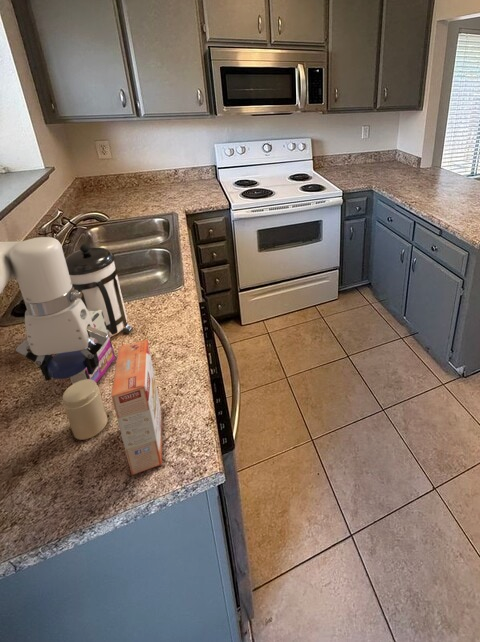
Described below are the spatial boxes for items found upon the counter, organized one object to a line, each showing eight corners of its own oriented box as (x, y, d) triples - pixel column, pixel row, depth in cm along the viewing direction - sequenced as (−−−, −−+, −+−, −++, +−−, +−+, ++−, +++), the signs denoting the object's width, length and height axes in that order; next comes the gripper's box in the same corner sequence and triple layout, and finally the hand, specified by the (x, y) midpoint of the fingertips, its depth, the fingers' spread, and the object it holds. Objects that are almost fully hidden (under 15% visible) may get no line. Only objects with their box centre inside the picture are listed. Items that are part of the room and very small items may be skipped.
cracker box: (164, 464, 72) (146, 385, 65) (130, 477, 70) (108, 396, 62) (163, 409, 84) (148, 337, 77) (135, 418, 82) (116, 345, 75)
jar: (74, 445, 76) (61, 408, 72) (72, 423, 81) (60, 387, 77) (109, 428, 80) (99, 392, 76) (105, 408, 84) (95, 373, 81)
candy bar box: (98, 358, 99) (84, 309, 94) (116, 358, 99) (103, 308, 94) (72, 391, 89) (54, 338, 83) (92, 391, 89) (75, 338, 83)
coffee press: (63, 351, 102) (33, 258, 91) (99, 316, 117) (77, 232, 106) (121, 354, 101) (97, 260, 90) (150, 318, 116) (133, 234, 105)
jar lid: (88, 372, 72) (86, 365, 72) (45, 384, 69) (42, 377, 69) (93, 349, 79) (91, 342, 78) (53, 359, 76) (51, 352, 75)
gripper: (107, 285, 74) (123, 353, 80) (10, 294, 70) (34, 365, 76) (93, 306, 67) (112, 379, 73) (-15, 318, 63) (14, 394, 69)
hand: (72, 371), depth 75 cm, fingers closed on jar lid, 7 cm apart
